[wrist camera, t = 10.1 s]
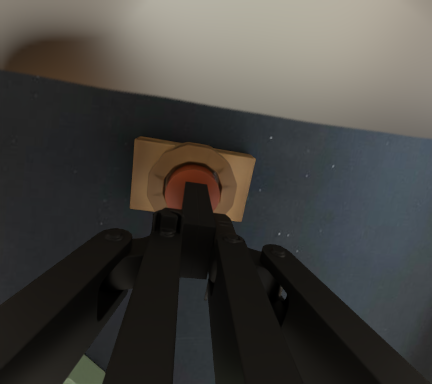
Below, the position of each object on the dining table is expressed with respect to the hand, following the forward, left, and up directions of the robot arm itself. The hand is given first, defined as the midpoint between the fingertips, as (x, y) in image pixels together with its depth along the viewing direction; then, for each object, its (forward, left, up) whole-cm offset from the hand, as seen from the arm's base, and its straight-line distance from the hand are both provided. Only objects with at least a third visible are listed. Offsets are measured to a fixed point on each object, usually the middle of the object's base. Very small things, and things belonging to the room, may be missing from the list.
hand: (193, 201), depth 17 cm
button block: (0, 0, -6) cm, 6 cm away
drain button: (0, 0, -3) cm, 3 cm away
